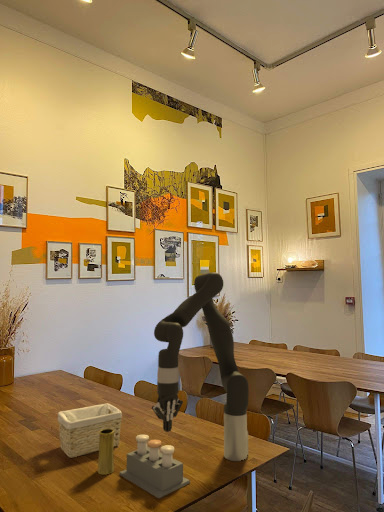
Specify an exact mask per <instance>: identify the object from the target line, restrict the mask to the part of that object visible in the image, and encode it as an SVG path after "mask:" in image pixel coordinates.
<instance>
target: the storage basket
mask: <svg viewBox="0 0 384 512" xmlns="http://www.w3.org/2000/svg"><path fill="white" fill-rule="evenodd" d="M122 414H123V413H122V411H121V410H120V409H119V408H118V407H116V406H114V405H113V404H110V403H107V402H106V403H102V404H96V405H90V406H85V407H80V408H74V409H69V410H62V411H58V412H57V422H58V427H59V428H58V429H59V431H58V432H59V443H60V444H59V445H60V449H61V450H62V451H63V452H64V454H66V456H67V457H68V458H70V459H71V458H72V459H73V458H77V456H78V457H79V456H83V455H84V456H85V455H88V454H89V455H90V454H92V453H95V452H99V436H100V431H101V430H103V429H113V430H114V447H117V446H119V445H120V436H121V435H120V434H121V425H122V424H121V423H122V417H123V416H122Z"/></svg>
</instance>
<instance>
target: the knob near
mask: <svg viewBox="0 0 384 512" xmlns="http://www.w3.org/2000/svg"><path fill="white" fill-rule="evenodd" d="M159 452H160V453H162V467H163V468H165V469H168V468H171V467H172V458H173V454H174V453H175V446H173V445H170V444H169V445H168V444H167V445H161V446H160V447H159ZM173 459H174V458H173Z"/></svg>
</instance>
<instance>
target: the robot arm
mask: <svg viewBox="0 0 384 512" xmlns="http://www.w3.org/2000/svg"><path fill="white" fill-rule="evenodd" d="M193 283H194V291H195V293H194V294H192V295H190V296H189V297H188V298H186V299H185V300H183V301H182V302H181V303H180V304H179V305H178V306H177V307H176V309H175V310H174V311H173V312H172V313H170V314H168V315H166V316H165V317H164V318H162V319H161V320H159V322H158V323H157V324H156V326H155V327H154V329H153V330H154V332H153V335H154V338H155V339H156V340H157V341H158V342H162V343H168V344H167V347H166V348H163V349H160V350H159V351H158V359H157V363H158V365H157V378H156V382H157V383H156V385H157V388H156V392H157V396H158V397H157V400H156V403H155V405H152V406H151V410H152V412H154V414H155V415H156V417H157V418H158V419H159V420H161V421H162V429H163V431H164V432H165V433H169V432H172V429H173V419H174V418H176V417H177V416H178V414H179V412H180V410H181V408H182V405H183V404H184V401H183V400H181V399H179V396H178V394H179V391H180V384H179V383H180V381H179V380H180V376H179V375H180V373H179V372H180V371H179V354H180V349H181V346H182V342H183V339H184V329H183V328H186V327H187V326H188V325H189V323H191V321H192V320H193V319H194V318H195V317H196V315H197V314H198V313H199V312H200V311H201V310H202V312H203V315H204V318H205V323H206V327H207V330H208V334H209V337H210V341H211V345H212V348H213V351H214V354H215V357H216V359H217V364H218V368H219V375H220V380H221V381H220V382H221V385H222V387H223V390H224V391H225V392H226V402H225V404H224V406H223V457H224V458H225V459H227V460H228V461H231V462H242V461H241V460H243V461H244V459H245V460H247V458H248V456H249V431H248V427H247V426H248V421H247V420H248V415H247V413H248V412H247V411H248V407H249V391H250V390H249V382H248V379H247V377H246V376H245V375H243V374H242V373H240V370H239V369H238V365H237V363H236V360H235V359H236V358H235V351H234V350H235V349H234V348H235V342H234V336H233V335H234V334H233V332H232V328H231V324H230V323H229V321H228V320H227V317H225V316H224V314H223V313H222V312H221V311H220V310H219V309H218V308H217V306H216V305H215V302H214V300H213V299H214V298H215V297H216V296H218V295H219V293H220V294H221V292H222V290H223V288H224V279H223V277H222V275H221V274H220V273H218V272H216V271H215V272H213V271H212V272H207V273H204V274H203V273H202V274H200V275H197V276H196V277H195V279H194V282H193ZM247 455H248V456H247Z"/></svg>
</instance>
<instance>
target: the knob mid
mask: <svg viewBox="0 0 384 512" xmlns="http://www.w3.org/2000/svg"><path fill="white" fill-rule="evenodd" d="M147 446H148V447H149V461H151V462H156V461H158V460H159V452H160V448H161V447H162V441H161V440H160V439H151V440H150V439H149V440H148V441H147Z"/></svg>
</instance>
